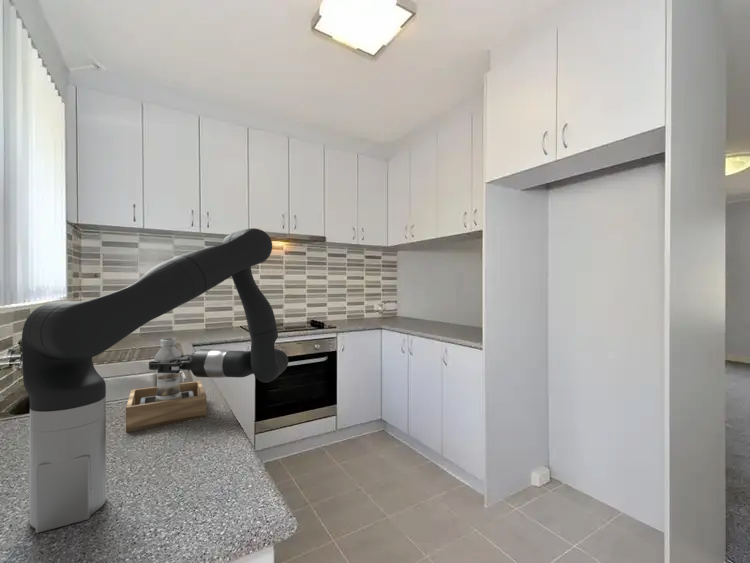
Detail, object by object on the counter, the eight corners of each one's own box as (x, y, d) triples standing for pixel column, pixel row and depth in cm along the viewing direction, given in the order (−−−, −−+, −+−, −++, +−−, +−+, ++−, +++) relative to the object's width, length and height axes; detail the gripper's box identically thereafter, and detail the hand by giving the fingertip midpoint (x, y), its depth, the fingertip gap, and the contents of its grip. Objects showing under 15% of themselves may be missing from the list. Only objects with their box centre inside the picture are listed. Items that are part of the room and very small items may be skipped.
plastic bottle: (185, 410, 100) (185, 338, 100) (158, 416, 96) (158, 341, 95) (177, 404, 105) (177, 336, 105) (151, 410, 100) (150, 339, 100)
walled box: (206, 417, 97) (206, 395, 97) (126, 432, 88) (125, 407, 88) (200, 400, 113) (200, 380, 113) (131, 410, 103) (131, 389, 103)
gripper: (228, 345, 105) (179, 344, 108) (197, 354, 91) (141, 353, 94) (229, 370, 105) (179, 369, 108) (197, 384, 91) (141, 382, 94)
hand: (161, 362), depth 101 cm, fingers open, 8 cm apart
